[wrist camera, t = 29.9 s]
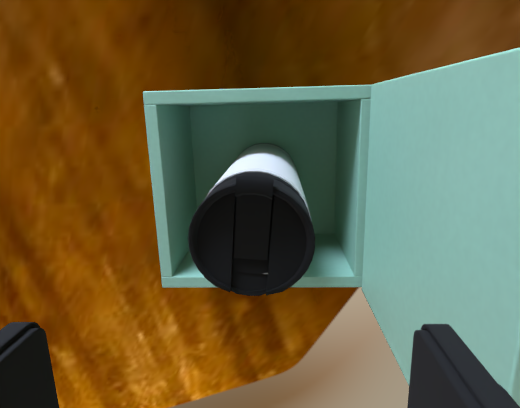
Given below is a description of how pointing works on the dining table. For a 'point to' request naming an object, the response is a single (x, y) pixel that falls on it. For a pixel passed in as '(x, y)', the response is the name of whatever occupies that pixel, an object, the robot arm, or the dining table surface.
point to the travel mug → (254, 225)
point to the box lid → (447, 210)
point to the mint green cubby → (253, 132)
